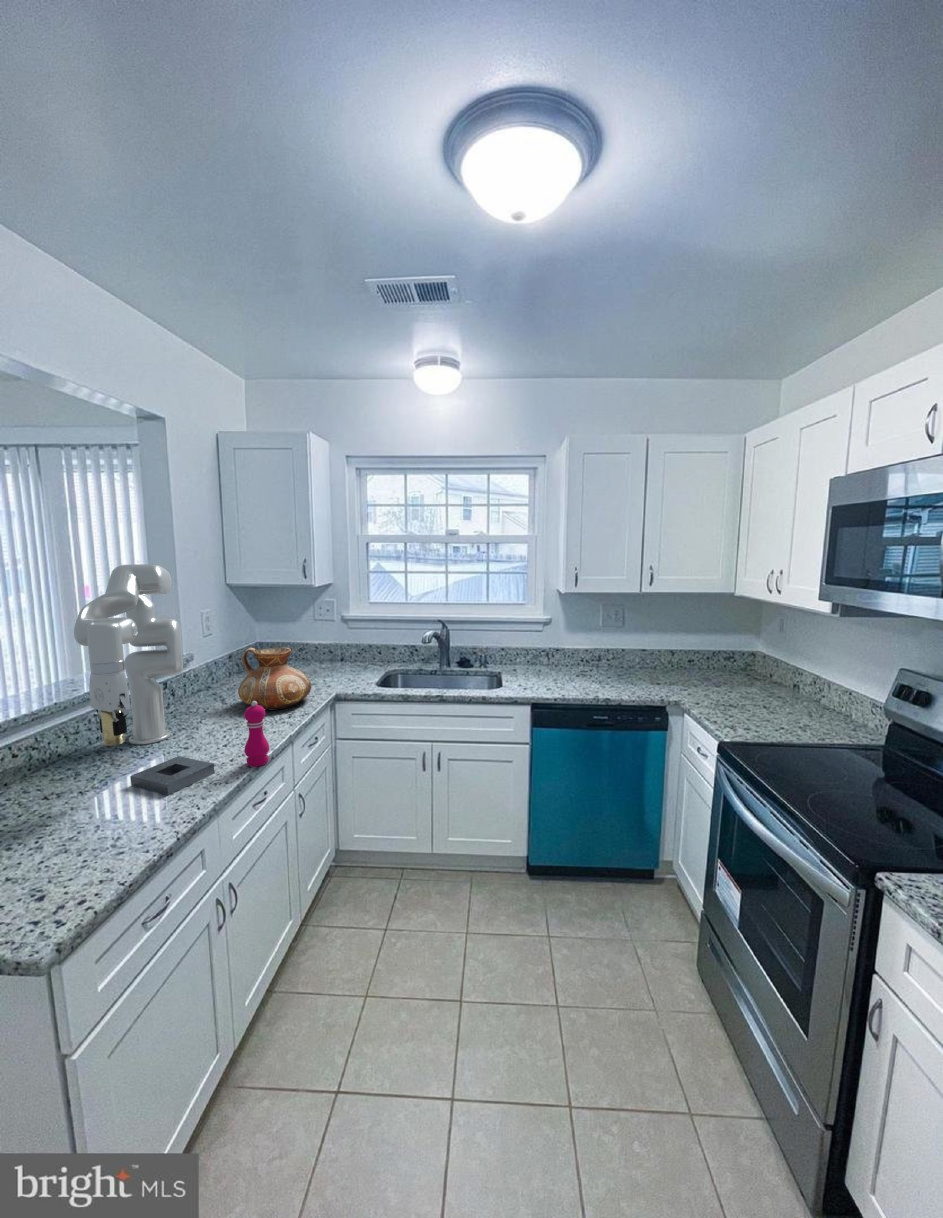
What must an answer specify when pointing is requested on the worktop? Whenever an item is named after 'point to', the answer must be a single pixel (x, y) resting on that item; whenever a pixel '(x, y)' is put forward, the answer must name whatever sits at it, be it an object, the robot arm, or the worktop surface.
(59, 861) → the worktop surface
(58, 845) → the worktop surface
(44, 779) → the worktop surface
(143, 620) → the robot arm
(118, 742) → the cylinder
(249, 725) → the pepper mill
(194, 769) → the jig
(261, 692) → the jug
